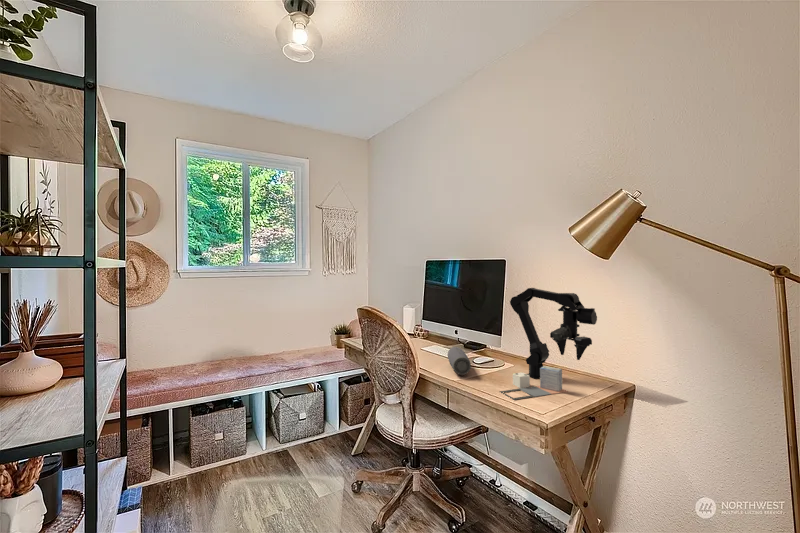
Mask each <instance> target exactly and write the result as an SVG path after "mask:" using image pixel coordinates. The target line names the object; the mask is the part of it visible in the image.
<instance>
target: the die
mask: <svg viewBox="0 0 800 533" xmlns="http://www.w3.org/2000/svg"><path fill="white" fill-rule="evenodd" d="M527 374H528V373H525V372H515V373H512V386H514V385H515V386H514V387H516V386H517V388H518V389H519V388H526V387H531V384H530V383H531V382H530V381H531V378H530V375H527Z"/></svg>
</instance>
